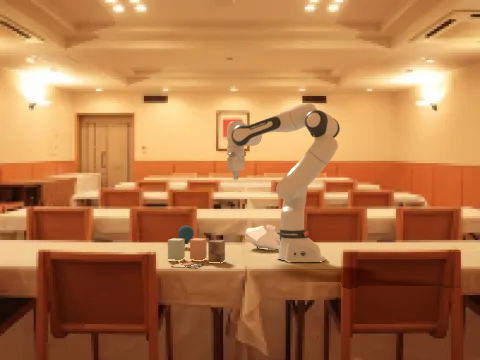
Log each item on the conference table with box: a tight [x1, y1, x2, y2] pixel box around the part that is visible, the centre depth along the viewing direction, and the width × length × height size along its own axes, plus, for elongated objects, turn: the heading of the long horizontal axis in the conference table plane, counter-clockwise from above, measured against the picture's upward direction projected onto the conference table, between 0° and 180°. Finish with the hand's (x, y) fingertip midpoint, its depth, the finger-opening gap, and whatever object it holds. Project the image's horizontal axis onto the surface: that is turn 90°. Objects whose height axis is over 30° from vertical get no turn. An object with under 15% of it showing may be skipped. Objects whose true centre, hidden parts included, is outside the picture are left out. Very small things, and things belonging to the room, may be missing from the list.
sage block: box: [167, 237, 186, 260], centre depth 256 cm, size 6×6×10 cm
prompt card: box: [181, 262, 205, 267], centre depth 242 cm, size 12×9×1 cm
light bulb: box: [177, 225, 195, 245], centre depth 294 cm, size 8×8×12 cm
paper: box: [244, 223, 280, 249], centre depth 290 cm, size 25×24×12 cm
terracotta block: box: [189, 237, 208, 260], centre depth 256 cm, size 6×6×10 cm
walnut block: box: [207, 239, 226, 263], centre depth 250 cm, size 6×6×10 cm
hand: (235, 179), depth 279 cm, fingers closed
